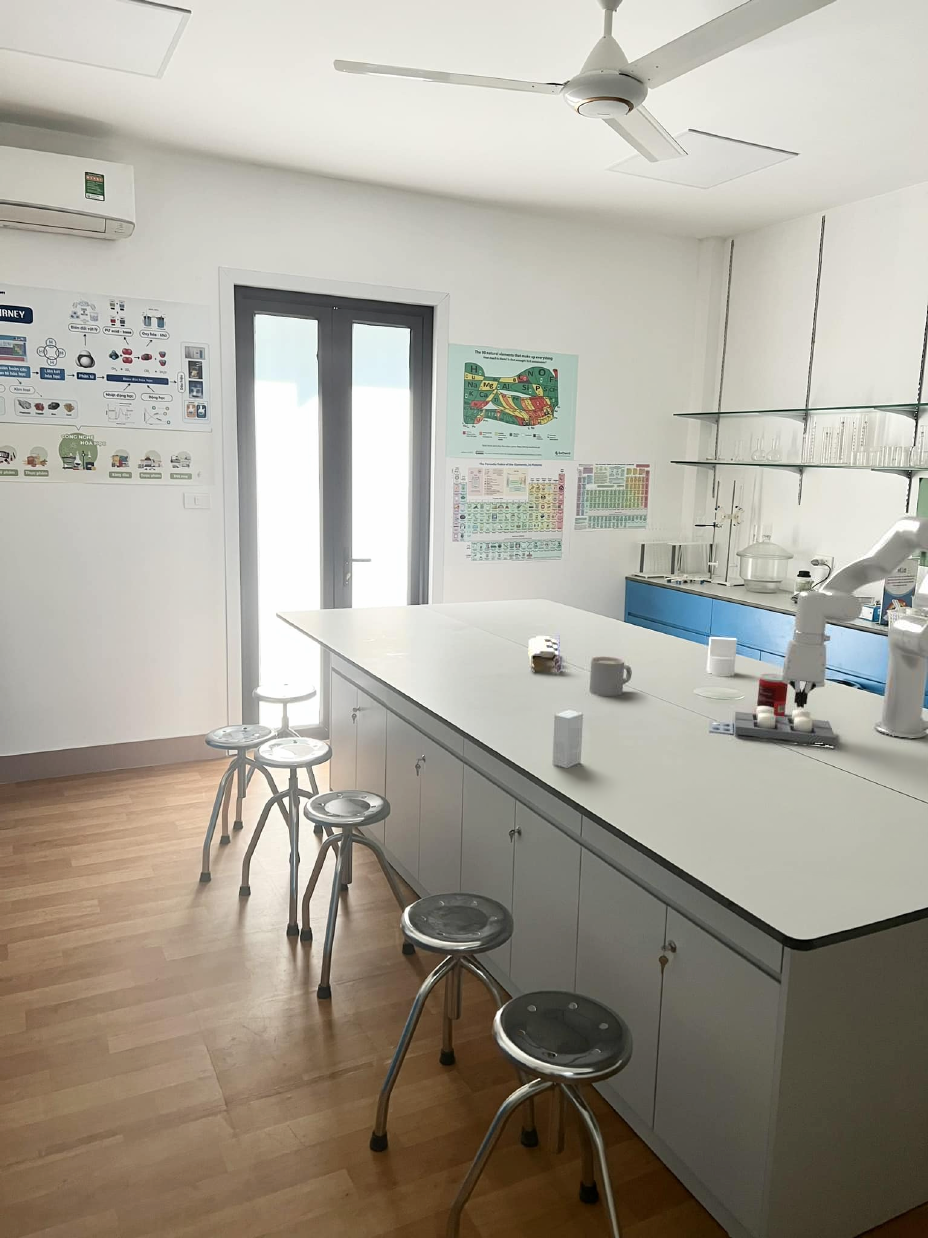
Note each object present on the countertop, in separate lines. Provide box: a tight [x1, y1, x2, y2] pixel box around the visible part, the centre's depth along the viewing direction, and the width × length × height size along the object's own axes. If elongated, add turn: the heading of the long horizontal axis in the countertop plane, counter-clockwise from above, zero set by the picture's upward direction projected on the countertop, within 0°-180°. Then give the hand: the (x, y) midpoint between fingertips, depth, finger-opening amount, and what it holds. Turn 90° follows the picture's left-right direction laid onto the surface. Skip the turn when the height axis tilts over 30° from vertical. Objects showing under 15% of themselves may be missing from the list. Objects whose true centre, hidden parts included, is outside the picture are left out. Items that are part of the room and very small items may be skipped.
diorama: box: [527, 633, 564, 674], centre depth 309 cm, size 25×10×13 cm, turn 178°
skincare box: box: [552, 709, 584, 769], centre depth 209 cm, size 6×4×12 cm
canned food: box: [756, 673, 789, 716], centre depth 257 cm, size 8×8×11 cm
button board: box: [708, 711, 836, 746], centre depth 239 cm, size 30×15×3 cm, turn 74°
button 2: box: [757, 713, 776, 729], centre depth 235 cm, size 4×4×3 cm
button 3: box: [791, 709, 811, 723], centre depth 240 cm, size 4×4×3 cm
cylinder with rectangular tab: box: [706, 636, 738, 676], centre depth 306 cm, size 9×9×12 cm
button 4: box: [793, 717, 814, 733], centre depth 233 cm, size 4×4×3 cm
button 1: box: [755, 706, 774, 719], centre depth 242 cm, size 4×4×3 cm
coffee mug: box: [589, 656, 633, 697], centre depth 276 cm, size 13×10×10 cm
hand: (800, 706), depth 239 cm, fingers closed
